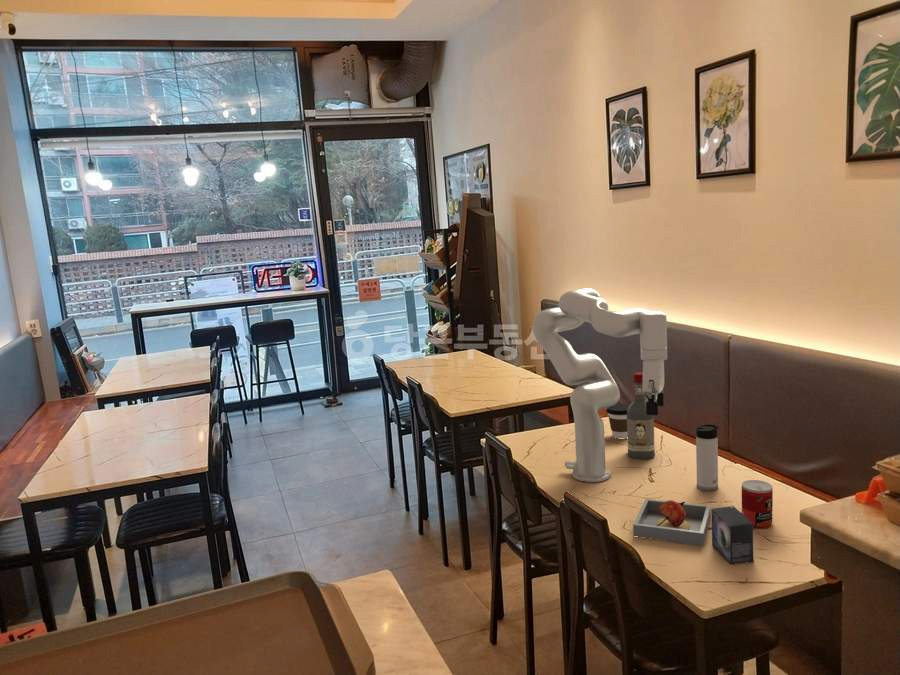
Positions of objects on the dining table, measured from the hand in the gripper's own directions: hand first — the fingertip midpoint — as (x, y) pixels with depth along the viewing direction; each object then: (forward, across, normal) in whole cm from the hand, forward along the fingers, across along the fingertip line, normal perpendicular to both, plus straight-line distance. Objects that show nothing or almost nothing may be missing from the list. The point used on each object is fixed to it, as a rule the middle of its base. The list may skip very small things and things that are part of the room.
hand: (655, 410), depth 207 cm
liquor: (+28, -38, -12) cm, 49 cm away
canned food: (+28, +8, +28) cm, 41 cm away
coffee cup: (+28, -56, -23) cm, 67 cm away
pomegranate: (+28, +17, +7) cm, 34 cm away
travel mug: (+28, -14, +13) cm, 34 cm away
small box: (+29, +28, +23) cm, 46 cm away
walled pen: (+28, +17, +7) cm, 34 cm away
